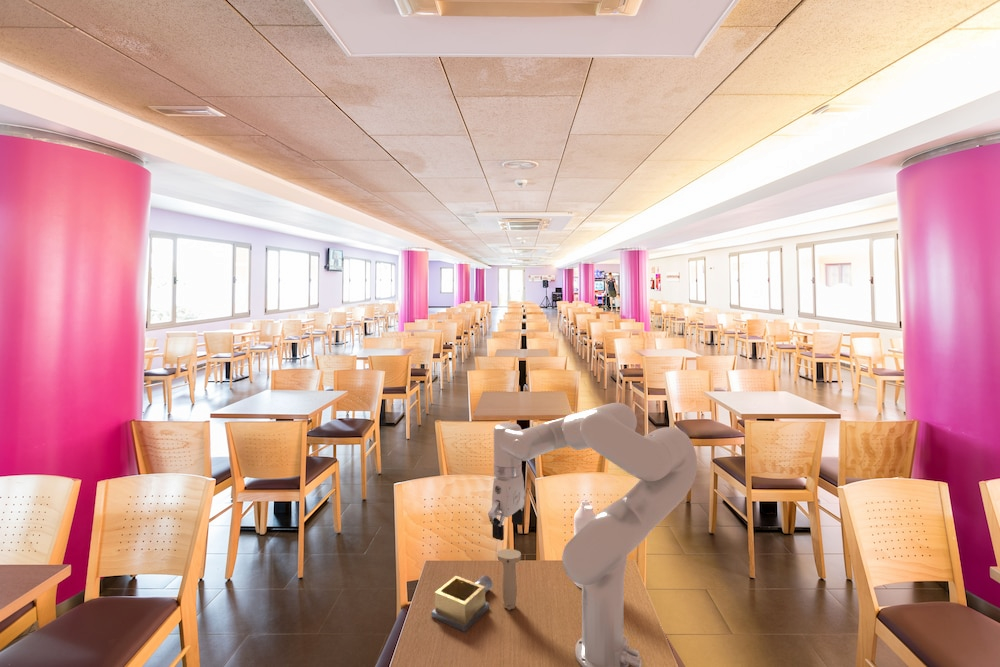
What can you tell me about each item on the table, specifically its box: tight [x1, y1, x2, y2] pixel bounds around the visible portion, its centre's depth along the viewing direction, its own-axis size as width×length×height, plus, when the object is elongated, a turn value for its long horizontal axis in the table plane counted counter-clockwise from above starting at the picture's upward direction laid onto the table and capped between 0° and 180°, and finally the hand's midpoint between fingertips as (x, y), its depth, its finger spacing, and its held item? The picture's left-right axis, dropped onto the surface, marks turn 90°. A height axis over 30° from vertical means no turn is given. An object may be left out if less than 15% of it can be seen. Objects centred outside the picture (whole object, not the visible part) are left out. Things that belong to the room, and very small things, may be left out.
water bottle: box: [573, 499, 597, 589], centre depth 138 cm, size 9×6×25 cm
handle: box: [496, 548, 522, 611], centre depth 129 cm, size 5×6×15 cm
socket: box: [431, 574, 493, 633], centre depth 130 cm, size 11×18×6 cm, turn 147°
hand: (507, 531), depth 128 cm, fingers open, 9 cm apart
